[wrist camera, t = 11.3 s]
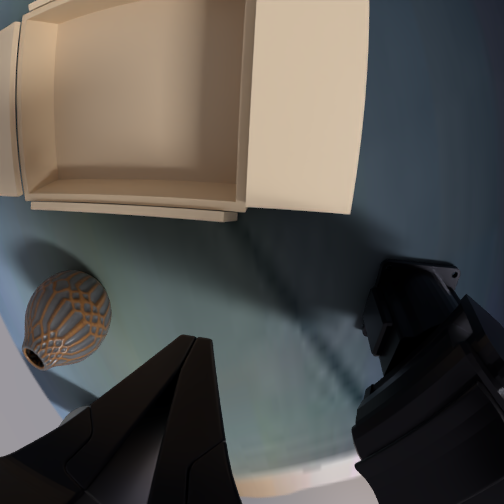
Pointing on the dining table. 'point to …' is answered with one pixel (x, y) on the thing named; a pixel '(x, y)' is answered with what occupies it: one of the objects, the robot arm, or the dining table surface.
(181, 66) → the carton
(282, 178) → the flap right
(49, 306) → the vase
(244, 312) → the dining table surface
